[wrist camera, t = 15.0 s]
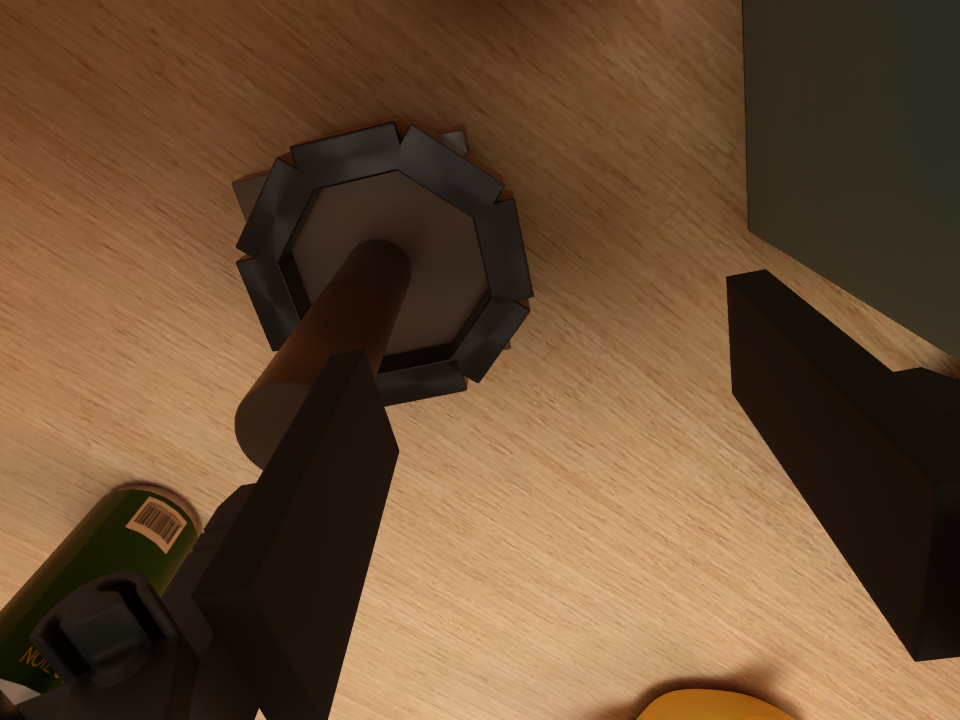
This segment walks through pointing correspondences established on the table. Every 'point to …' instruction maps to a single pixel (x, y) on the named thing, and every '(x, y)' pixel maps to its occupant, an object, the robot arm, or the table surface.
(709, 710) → the teapot
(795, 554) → the table surface
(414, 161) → the ring
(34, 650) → the beer can
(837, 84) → the stand
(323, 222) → the holder
